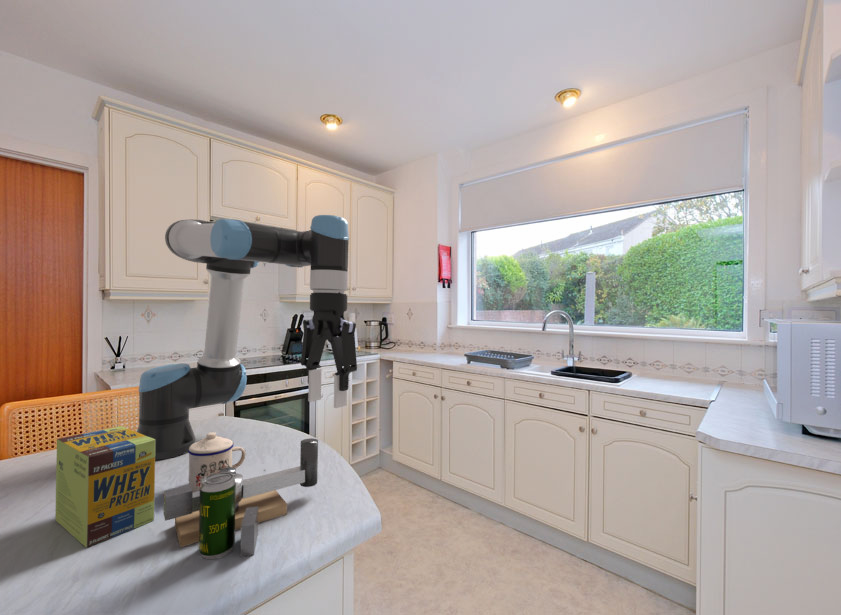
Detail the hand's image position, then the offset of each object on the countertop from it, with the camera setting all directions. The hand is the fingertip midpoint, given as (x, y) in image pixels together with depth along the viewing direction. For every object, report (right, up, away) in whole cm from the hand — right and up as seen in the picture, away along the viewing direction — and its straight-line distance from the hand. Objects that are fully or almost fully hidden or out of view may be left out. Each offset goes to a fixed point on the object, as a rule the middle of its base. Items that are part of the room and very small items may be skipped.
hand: (327, 403), depth 80 cm
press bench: (-17, -21, -7) cm, 28 cm away
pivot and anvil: (-13, -21, -11) cm, 27 cm away
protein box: (-40, -21, -7) cm, 46 cm away
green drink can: (-15, -21, -15) cm, 30 cm away
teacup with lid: (-27, -21, +9) cm, 36 cm away
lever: (-14, -18, -4) cm, 23 cm away
